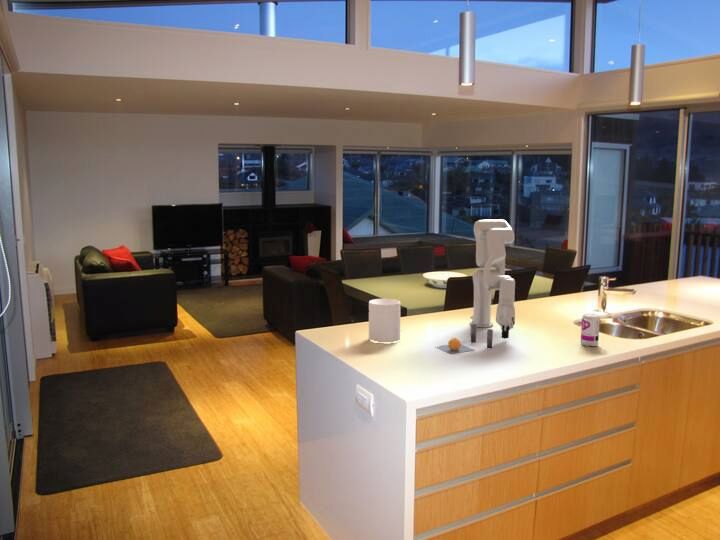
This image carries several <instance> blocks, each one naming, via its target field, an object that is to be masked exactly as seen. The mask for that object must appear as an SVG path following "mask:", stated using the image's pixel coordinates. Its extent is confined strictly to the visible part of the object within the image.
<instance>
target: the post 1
mask: <svg viewBox="0 0 720 540" xmlns="http://www.w3.org/2000/svg"><path fill="white" fill-rule="evenodd" d="M476 342H477V327H476V324H471V325H470V343H476Z"/></svg>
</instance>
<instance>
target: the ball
mask: <svg viewBox="0 0 720 540" xmlns="http://www.w3.org/2000/svg"><path fill="white" fill-rule="evenodd" d="M461 344H462V343H461V341H460V340H459V339H458V338H455V337H453V338H451V339H449V341H448V343H447V345H448V346H449V348H450V349H451V350H453V351H456V350H458V349H460V347H461Z"/></svg>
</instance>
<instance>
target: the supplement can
mask: <svg viewBox="0 0 720 540" xmlns="http://www.w3.org/2000/svg"><path fill="white" fill-rule="evenodd" d="M600 319H601V318H600V317H599V315H597V314H592V313H585V314H583V315H582V318H581V328H580V329H581V330H580V334H581V335H580V344H581V345H582V346H583V345H585V346H584V347H587V346H596V347H597V346H598V345H599V338H600V335H599V334H600V322H601V321H600Z"/></svg>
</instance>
